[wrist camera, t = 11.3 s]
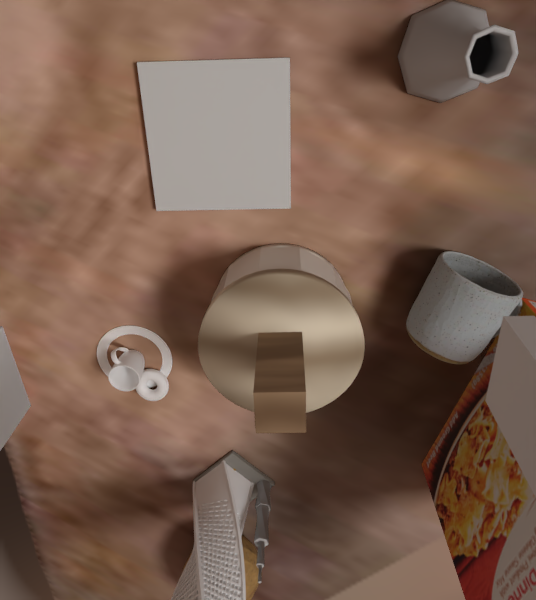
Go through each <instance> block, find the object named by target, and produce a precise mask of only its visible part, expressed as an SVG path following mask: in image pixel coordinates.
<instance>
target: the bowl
mask: <svg viewBox="0 0 536 600" xmlns="http://www.w3.org/2000/svg"><path fill="white" fill-rule="evenodd" d="M278 268H279V269H294V270H300V271H304V272H308V273H311V274H314V275H316V276H319V277H321V278H323V279H325V280H326V281H328V282H330V283H332V284H333V285H334V286H335V287H337V288H338V289H339V290H340V291H341V292H342V293H343V294H344V295H345V296H346V297H347V298H348V299H349V301H350V302H351V303H352V301H351V297H350V293H349V292H348V290H347V288H346V287H345V285H344V282H343V280H342V278H341V276H340V274H339V273H338V271H337V270H336V268H335V267H334V266H333V265H332V264H331V263H330V262H329V261H328V260H327V259H325V258H324V257H323V256H321V255H320V254H318V253H317V252H315V251H313V250H310V249H308V248H305V247H302V246H299V245H293V244H282V243H279V244H269V245H264V246H261V247H258V248H255V249H252V250H250V251H248V252H246V253H245V254H243V255H242V256H240V257H238V258H237V259H236V260H235V261H234V262H233V263H232V264H231V265H230V266H229V267H228V268H227V270H226V271H225V273H224V274H223V276H222V278H221V280H220V282H219V285H218V287H217V289H216V291H215V292H214V294H213V297H212V301H213V299H214V298H215V297H216V296H217V295H218V294H219V293H220V292H221V291H222V290H223V289H224V288H225V287H226V286H228V285H229V284H231V283H232V282H234V281H235V280H237V279H239V278H241V277H243V276H245V275H248V274H251V273H254V272H257V271H262V270H267V269H278ZM212 301H211V302H212Z"/></svg>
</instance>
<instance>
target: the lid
mask: <svg viewBox="0 0 536 600" xmlns="http://www.w3.org/2000/svg"><path fill="white" fill-rule="evenodd" d="M364 351H365V340H364V334H363V329H362V326H361V322H360V319H359V316H358V314H357V312H356V310H355V308H354V306H353V305H352V303H351V302H350V301H349V299H348V298H347V297H346V296H345V295H344V294H343V293H342V292H341V291H340V290H339V289H338V288H337V287H335V286H334V285H333V284H332V283H330V282H328V281H326V280H325V279H323V278H321V277H319V276H316V275H314V274H311V273H308V272H304V271H300V270H294V269H279V268H278V269H267V270H262V271H257V272H254V273H251V274H248V275H245V276H243V277H241V278H239V279H237V280H235V281H234V282H232V283H231V284H229V285H228V286H226V287H225V288H224V289H223V290H222V291H221V292H220V293H219V294H218V295H217V296H216V297H215V298H214V299H213V301H212V302H211V304H210V305H209V307H208V308H207V310H206V313H205V315H204V317H203V321H202V324H201V328H200V331H199V337H198V353H199V358H200V362H201V365H202V368H203V370H204V372H205V374H206V376H207V378H208V379H209V381H210V382H211V384H212V385H213V386H214V387H215V388H216V389H217V390H218V391H219V393H221V394H222V395H223V396H224V397H226V398H227V399H228V400H230V401H231V402H233V403H234V404H236V405H238V406H240V407H242V408H244V409H247V410H250V411H253V412H255V427H256V433H306V413H307V412H311V411H314V410H316V409H319V408H321V407H323V406H325V405H327V404H329V403H331V402H332V401H334V400H335V399H336V398H338V397H339V396H340V395H341V394H342V393H344V392H345V391H346V390H347V388H348V387H349V386H350V385H351V384H352V382H353V381H354V379H355V378H356V376H357V374H358V372H359V370H360V368H361V365H362V362H363V358H364Z"/></svg>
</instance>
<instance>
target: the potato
mask: <svg viewBox="0 0 536 600" xmlns="http://www.w3.org/2000/svg"><path fill="white" fill-rule="evenodd" d="M241 539H242V547H243V555H244V566H245V584H246V600H251V598H252V597H253V595H254V593H255V591H256V589H257V587H258V585H259V583H258V573H259V568H257V565H256V563H257V554H258V552H257V550H256V548H255V546H254V545H253V544H252V543H251V542H250V541H249V540H248V539H247V538H246V537H245V536H244V535H242V536H241ZM192 551H193V550H192ZM191 554H192V552H191ZM191 554H190V556H191ZM190 556H189V558H190ZM189 558H188V560H189ZM188 560H187V562H188ZM187 562H186V564H187ZM186 564H185V566H186ZM185 566H184V568H185ZM184 568H183V570H184ZM261 576H262V573H261Z"/></svg>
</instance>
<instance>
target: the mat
mask: <svg viewBox="0 0 536 600" xmlns="http://www.w3.org/2000/svg"><path fill="white" fill-rule="evenodd" d="M137 68H138V76H139V83H140V91H141V98H142V106H143V113H144V121H145V128H146V136H147V143H148V151H149V159H150V166H151V174H152V181H153V189H154V196H155V204H156V211H177V210H231V209H285V208H291V161H290V58H259V59H225V60H192V61H158V62H137Z"/></svg>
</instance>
